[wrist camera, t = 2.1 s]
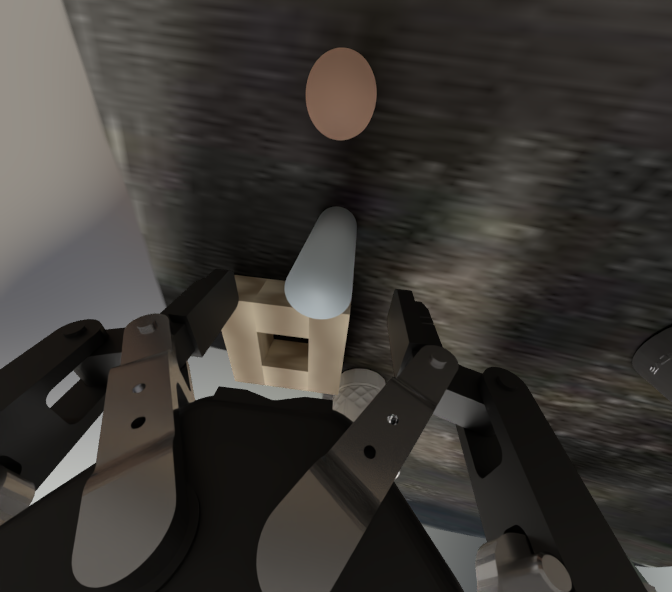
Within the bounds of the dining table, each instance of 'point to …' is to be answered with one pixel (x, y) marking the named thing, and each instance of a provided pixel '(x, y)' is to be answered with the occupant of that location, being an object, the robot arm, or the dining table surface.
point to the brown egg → (341, 94)
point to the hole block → (280, 355)
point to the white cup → (357, 392)
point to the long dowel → (325, 267)
